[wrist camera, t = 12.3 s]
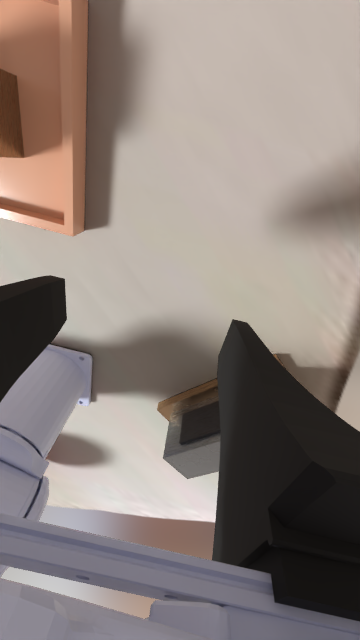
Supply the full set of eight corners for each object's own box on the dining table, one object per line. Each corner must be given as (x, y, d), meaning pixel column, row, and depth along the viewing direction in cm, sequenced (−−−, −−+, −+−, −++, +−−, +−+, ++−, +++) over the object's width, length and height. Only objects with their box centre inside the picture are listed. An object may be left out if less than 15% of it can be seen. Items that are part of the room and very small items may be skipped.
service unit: (158, 402, 28) (146, 454, 23) (275, 353, 23) (293, 407, 18) (193, 436, 31) (189, 489, 26) (305, 399, 26) (328, 457, 21)
